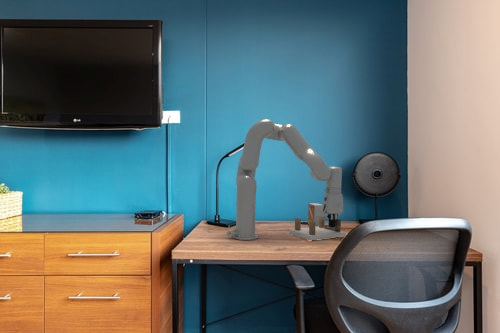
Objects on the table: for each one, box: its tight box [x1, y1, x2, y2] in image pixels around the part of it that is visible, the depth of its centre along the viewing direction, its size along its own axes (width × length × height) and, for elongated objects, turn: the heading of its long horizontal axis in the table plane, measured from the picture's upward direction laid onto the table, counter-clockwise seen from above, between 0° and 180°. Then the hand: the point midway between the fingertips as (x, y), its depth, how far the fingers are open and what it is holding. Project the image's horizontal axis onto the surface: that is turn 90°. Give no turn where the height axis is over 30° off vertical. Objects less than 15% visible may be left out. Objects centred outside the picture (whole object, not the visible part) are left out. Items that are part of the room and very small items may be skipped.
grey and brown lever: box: [324, 218, 342, 232], centre depth 179 cm, size 11×3×6 cm, turn 31°
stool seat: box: [289, 216, 346, 241], centre depth 177 cm, size 22×18×8 cm
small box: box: [307, 202, 324, 226], centre depth 203 cm, size 8×6×13 cm
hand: (331, 226), depth 174 cm, fingers closed
